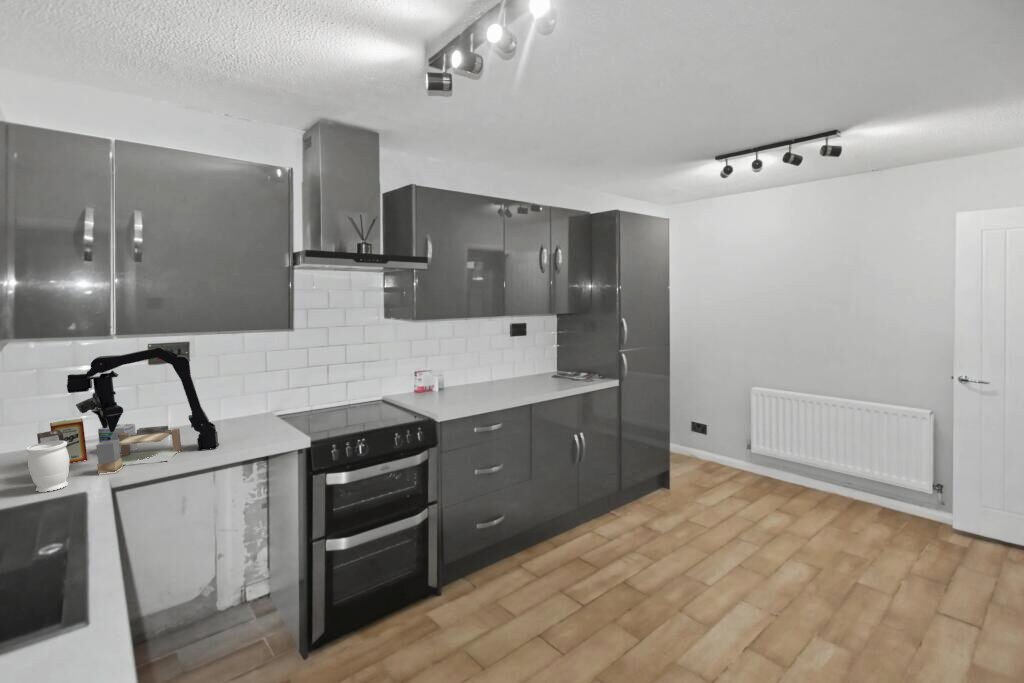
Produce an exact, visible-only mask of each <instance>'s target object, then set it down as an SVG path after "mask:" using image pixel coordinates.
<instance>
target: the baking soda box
mask: <svg viewBox="0 0 1024 683" xmlns="http://www.w3.org/2000/svg"><path fill="white" fill-rule="evenodd" d="M49 426H50V431H54V430H60V431H61V432H62V433H63V438H64V441H67V445H66V449H67V451H68V454H69V463H71V464H74V463H73V462H76V463H79V462H78V461H81V462H85V461H84V460H86V461H88V454H87V446H86V437H85V435H86V434H85V429H84V428H85V427H84V420H83V418H81V417H80V418H76V419H75V418H74V419H67V420H66V419H64V420H59V421H54V422H50V423H49Z"/></svg>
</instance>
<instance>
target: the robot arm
mask: <svg viewBox="0 0 1024 683" xmlns="http://www.w3.org/2000/svg"><path fill="white" fill-rule="evenodd" d="M156 358H158V359H160V360H162V361H163V362H165V363H168V364H169V365H171V366H172V368H173V369H174V371H175V372H176V375H177V376H178V378H179V379H180V382H181V384H182V387H183V390H184V393H185V396H186V400H187V402H188V404H189V407H190V410H191V414H189V415H188V418H187V419H188V420H189V422H190V425H191V429H192V428H193V430H194V431H195V432H197V433H198V434H197V435H198V436H197V439H196V442H197V448H198V451H203V450H202V449H208V450H211V449H210V448H216V447H217V446H218V445H219V444H221V443H220V442H219V439H218V438H219V437H218V435H219V434H218V431H216V430H217V429H216V424H214V423H212V422H211V421H210V418H209V417H208V415H207V414H206V412H205V411H204V409H203V407H202V405H201V403H200V400H199V396H198V393H197V390H196V386H195V385H194V381H193V378H192V375H191V374H192V373H191V366H190V365H191V364H190V358H189V357H188V356H187V355H185V354H176V353H175V352H172V351H170V350H167V349H166V348H164V347H162V346H156V347H153V348H150V349H144V350H140V351H139V350H138V351H134V352H130V353H124V354H121V355H120V354H117V355H102V356H101V355H100V356H97V357H96V358H94V359H93V360H92V361H90V369H89V370H88V371H86V373H80V374H79V373H77V374H75V373H74V374H73V373H71V374H68V375H67V381H66V382H67V384H66V389H67V393H68V394H73V393H83V392H84V393H85V392H89V390H90V389H92V388H93V389H94V391H93V393H92V395H91V396H92V397H90V398H87V399H85V400H83V401H80V402H78V403H76V404H75V407H76V408H77V410H78V411H79V413H81V414H85V413H88V411H91V413H93V414H94V415H96V416H97V418H98V421H99V422H100V425H101V426H102V427H103V428H107V425H108V427H109V430H110V432H114V430H115V428H116V426H117V424H118V423H119V421H120V418H121V416H123V413H124V408H123V407H122V406H120V405H119V404H117V401H115V400H116V398H115V395H116V394H117V392H116V391H115V389H114V380H113V378H117V377H119V374H118V373H117V372H115V371H114V369H116V368H119V367H121V366H125V365H129V364H134V363H138V362H144V361H148V360H152V359H156ZM109 371H110V372H109ZM97 374H100V375H99V376H98V375H97ZM96 375H97V376H96ZM102 427H101V428H102ZM219 446H220V445H219ZM219 446H218V447H219ZM218 447H217V448H218ZM217 448H216V449H217Z"/></svg>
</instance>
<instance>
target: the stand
mask: <svg viewBox="0 0 1024 683" xmlns="http://www.w3.org/2000/svg"><path fill="white" fill-rule="evenodd" d="M170 430H171V432H170V435H171V439H172V440H171V441H172V449H164V450H163V449H162V450H151V451H141V452H140V451H139V452H130V444H127V445H121V454H120V455H121V458H122V465H126V464H133V463H134V462H136V461H137V460H138V459H139V460H143V459H145V458H147V457H149V458H150V457H153V456H156V454H157V455H159V453H160V454H164V455H167V456H170V455H174V454H175V453H177V452H179V451H181V452H182V444H181V443H182V442H181V433H180V431H181V430H180V428H173V429H170ZM170 435H169V436H170ZM129 436H130V435H128V433H122V434H120V442H121V441H122V440H124V439H126V438H127V437H129ZM179 453H180V452H179ZM177 454H178V453H177ZM152 455H153V456H152ZM149 458H147V459H149Z"/></svg>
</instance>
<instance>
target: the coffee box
mask: <svg viewBox="0 0 1024 683" xmlns="http://www.w3.org/2000/svg"><path fill="white" fill-rule="evenodd" d="M36 437H37V444H39V443H44V442H51V441H64V438H63V433H62V432H61V431H60V430H54V431H51V430H49V431H43V432H39V433H36Z"/></svg>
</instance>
